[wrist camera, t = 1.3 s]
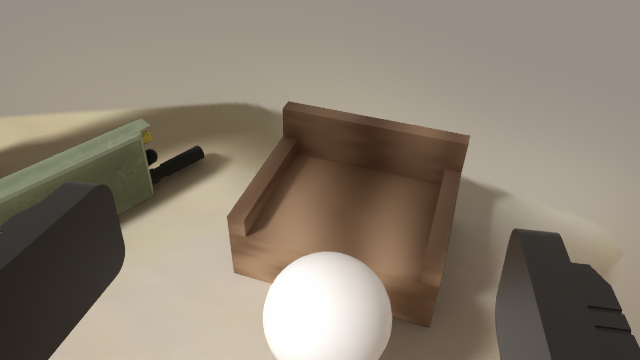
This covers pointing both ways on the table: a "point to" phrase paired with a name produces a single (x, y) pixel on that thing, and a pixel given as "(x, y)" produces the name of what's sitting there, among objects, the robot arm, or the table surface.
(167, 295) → the table surface
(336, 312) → the lightbulb
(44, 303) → the robot arm
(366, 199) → the stand
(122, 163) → the handheld radio
